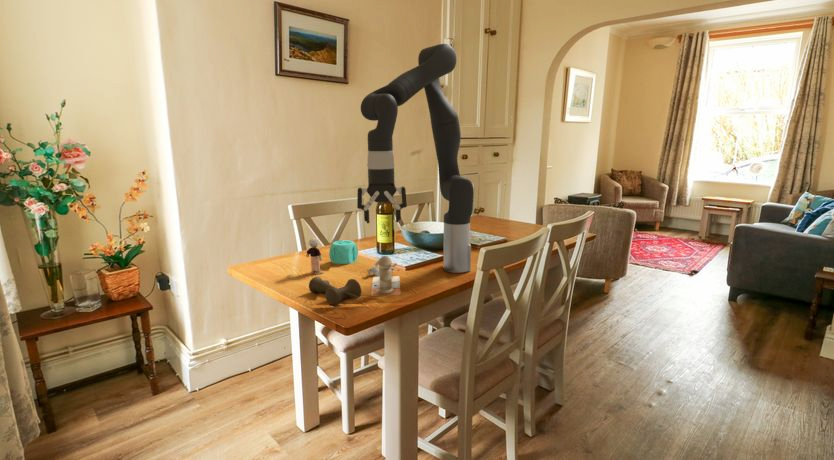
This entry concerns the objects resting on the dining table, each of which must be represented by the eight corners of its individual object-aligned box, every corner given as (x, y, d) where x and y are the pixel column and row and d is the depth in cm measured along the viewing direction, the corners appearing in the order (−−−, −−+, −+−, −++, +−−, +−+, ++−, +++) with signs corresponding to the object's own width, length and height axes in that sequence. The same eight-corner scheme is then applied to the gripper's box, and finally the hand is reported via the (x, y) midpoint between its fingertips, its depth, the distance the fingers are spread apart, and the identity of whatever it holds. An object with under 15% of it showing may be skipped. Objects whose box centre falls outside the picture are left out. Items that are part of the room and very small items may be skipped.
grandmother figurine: (327, 272, 158) (325, 237, 155) (321, 275, 154) (319, 240, 151) (310, 269, 161) (308, 235, 158) (303, 272, 157) (300, 238, 154)
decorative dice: (348, 266, 164) (347, 245, 162) (329, 265, 166) (328, 244, 164) (358, 260, 171) (357, 240, 169) (340, 259, 174) (338, 239, 172)
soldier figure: (403, 277, 155) (380, 275, 145) (394, 284, 157) (370, 283, 148) (395, 258, 158) (371, 255, 149) (386, 266, 160) (362, 263, 151)
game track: (401, 278, 150) (401, 275, 150) (402, 297, 133) (402, 294, 133) (371, 279, 150) (371, 276, 150) (369, 298, 132) (368, 295, 132)
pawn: (393, 289, 138) (392, 254, 135) (393, 294, 133) (392, 258, 131) (378, 289, 137) (377, 254, 135) (378, 294, 133) (377, 258, 130)
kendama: (327, 288, 143) (371, 301, 130) (302, 298, 136) (345, 312, 123) (325, 271, 142) (369, 282, 129) (300, 279, 135) (344, 292, 122)
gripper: (405, 165, 131) (406, 219, 135) (356, 166, 131) (359, 220, 134) (406, 167, 124) (407, 224, 128) (354, 168, 123) (357, 225, 127)
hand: (382, 222), depth 131 cm, fingers open, 8 cm apart
